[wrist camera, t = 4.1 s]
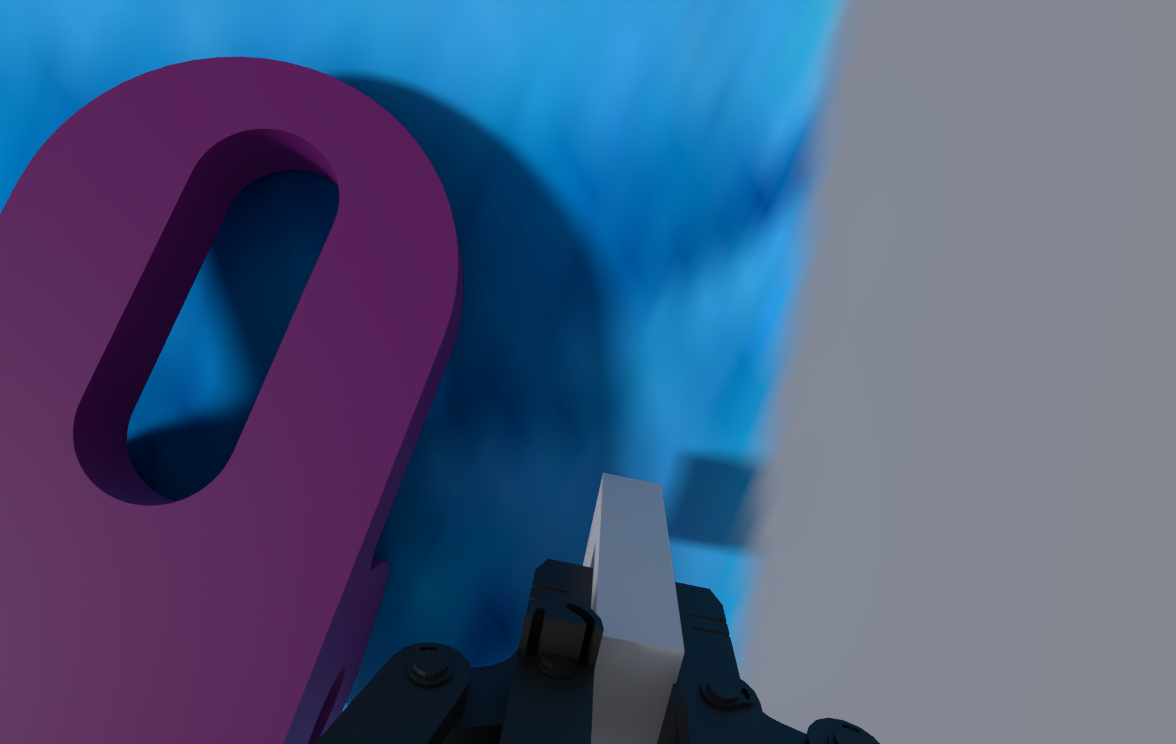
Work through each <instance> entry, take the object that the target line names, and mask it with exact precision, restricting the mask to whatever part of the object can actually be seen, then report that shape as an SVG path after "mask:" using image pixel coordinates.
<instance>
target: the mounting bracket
mask: <svg viewBox="0 0 1176 744" xmlns="http://www.w3.org/2000/svg"><path fill="white" fill-rule="evenodd" d="M281 170H304V171H309V172H313V173H316V174H319V175H321V176H323V177H325V178H327V179H329V180H330V181H332V182H333V183H335V184H336V185H337V186H338V187H339V207H338V212H337V216H336V218H335V221H334V224H333V226H332V228H331V231H330V233H329V235H328V237H327V240H326V242H325V244H324V246H323V249H322V251H321V253H320V256H319V258H318V260H317V262H316V265H315V267H314V269H313V272H312V274H311V276H310V278H309V281H308V283H307V285H306V287H305V290H304V292H303V294H302V297H301V299H300V301H299V303H298V306H297V308H296V310H295V313H294V315H293V317H292V319H291V322H290V324H289V326H288V328H287V331H286V333H285V335H284V338H283V340H282V342H281V344H280V347H279V349H278V351H277V353H276V356H275V358H274V360H273V363H272V365H271V367H270V369H269V372H268V374H267V376H266V379H265V381H264V383H263V385H262V388H261V390H260V392H259V394H258V397H257V399H256V401H255V404H254V406H253V408H252V410H251V413H250V415H249V417H248V420H247V422H246V424H245V426H244V429H243V431H242V433H241V435H240V438H239V440H238V442H237V445H236V447H235V449H234V451H233V453H232V455H231V457H230V459H229V461H228V463H227V464H226V466H225V467H224V469H223V470H222V471H221V472H220V474H219V475H218V476H217V477H216V478H215V479H214V480H213V481H212V482H211V483H209V484H208V485H207V486H206V487H205V488H203V489H202V490H200V491H199V492H197V493H195V494H193V495H192V496H190V497H187V498H185V499H183V500H180V501H174V500H171V499H168V498H165V497H163V496H161V495H159V494H158V493H156V492H154V491H153V490H152V489H151V488H150V487H149V485H148V484H147V483H146V482H145V481H143V480H142V479H141V478H140V477H139V476H138V475H137V473H136V471H135V470H134V468H133V466H132V463H131V461H130V458H129V454H128V449H127V430H128V424H129V421H130V417H131V415H132V412H133V410H134V408H135V406H136V404H137V402H138V399H139V397H140V395H141V393H142V391H143V389H144V387H145V385H146V383H147V380H148V378H149V376H150V374H151V372H152V370H153V368H154V366H155V363H156V361H157V359H158V357H159V355H160V353H161V351H162V349H163V346H164V344H165V342H166V340H167V338H168V336H169V334H170V332H171V330H172V327H173V325H174V323H175V321H176V319H177V317H178V315H179V313H180V310H181V308H182V306H183V304H184V302H185V300H186V298H187V296H188V293H189V291H190V289H191V287H192V285H193V283H194V281H195V279H196V277H197V274H198V272H199V270H200V268H201V266H202V264H203V262H204V260H205V257H206V255H207V253H208V251H209V249H210V247H211V245H212V243H213V240H214V238H215V236H216V234H217V232H218V230H219V228H220V226H221V224H222V221H223V219H224V217H225V215H226V213H227V211H228V209H229V207H230V205H231V203H232V201H233V200H234V199H235V197H236V196H237V195H238V193H239V192H240V191H241V190H242V189H243V188H244V187H246V186H247V185H248V184H249V183H251V182H252V181H254V180H256V179H257V178H259V177H261V176H263V175H266V174H269V173H272V172H276V171H281ZM463 298H464V278H463V267H462V260H461V253H460V248H459V243H458V238H457V233H456V228H455V224H454V220H453V216H452V212H451V208H450V204H449V201H448V198H447V196H446V193H445V190H444V188H443V185H442V183H441V181H440V179H439V177H438V175H437V173H436V171H435V169H434V167H433V165H432V163H431V162H430V160H429V159H428V157H427V156H426V154H425V153H424V151H423V150H422V148H421V147H420V145H419V144H418V143H417V142H416V140H415V139H414V138H413V137H412V136H411V134H410V133H409V132H408V131H407V130H406V128H405V127H404V126H403V125H402V124H401V123H399V122H398V121H397V120H396V119H395V118H394V117H393V116H392V115H391V114H390V113H389V112H388V111H387V110H385V109H384V108H383V107H381V106H380V105H379V104H378V103H376V102H375V101H374V100H373V99H371V98H370V97H368V96H366V95H365V94H363V93H362V92H360V91H358V90H357V89H355V88H354V87H352V86H350V85H348V84H346V83H344V82H342V81H340V80H338V79H336V78H334V77H332V76H329V75H326V74H324V73H321V72H318V71H316V70H313V69H310V68H307V67H303V66H299V65H295V64H292V63H288V62H282V61H276V60H270V59H264V58H250V57H216V58H208V59H200V60H192V61H187V62H183V63H178V64H173V65H169V66H166V67H162V68H159V69H156V70H153V71H150V72H147V73H144V74H142V75H139V76H137V77H135V78H132V79H130V80H128V81H126V82H123V83H121V84H119V85H118V86H116V87H114V88H112V89H110V90H109V91H107V92H105V93H103V94H101V95H100V96H98V97H97V98H95V99H94V100H92V101H91V102H90V103H88V104H87V105H85V106H84V107H82V108H81V109H80V110H78V111H77V112H76V113H75V114H74V115H73V116H71V117H70V118H69V119H68V120H67V121H65V122H64V123H63V124H62V125H61V126H60V127H59V128H58V129H57V130H56V131H55V132H54V133H53V134H52V135H51V136H50V138H49V139H48V140H47V141H46V142H45V143H44V144H43V145H42V147H41V148H40V149H39V151H38V152H37V153H36V155H35V156H34V157H33V158H32V160H31V161H30V162H29V164H28V166H27V167H26V169H25V171H24V172H23V174H22V176H21V177H20V179H19V180H18V182H17V184H16V186H15V188H14V190H13V191H12V193H11V195H10V197H9V199H8V201H7V203H6V204H5V206H4V208H3V210H2V212H1V214H0V744H314V743H315V742H316V741H317V740H318V739H319V738H320V737H321V735H322V734H323V733H324V732H325V731H326V730H327V729H328V728H329V727H330V725H331V724H332V723H333V722H334V721H335V720H336V719H337V718H338V717H339V715H340V714H341V713H342V711H343V708H344V706H345V703H346V701H347V698H348V696H349V693H350V691H351V688H352V686H353V683H354V680H355V678H356V675H357V673H358V670H359V667H360V665H361V662H362V659H363V656H364V653H365V650H366V647H367V644H368V641H369V638H370V635H371V632H372V628H373V625H374V622H375V619H376V616H377V613H378V610H379V607H380V604H381V601H382V598H383V594H384V591H385V588H386V583H387V578H388V570H389V566H388V562H386V561H383V560H380V559H377V558H374V557H373V555H374V551H375V548H376V546H377V543H378V540H379V538H380V535H381V533H382V530H383V528H384V525H385V522H386V520H387V517H388V515H389V512H390V510H391V507H392V504H393V502H394V499H395V497H396V494H397V492H398V489H399V486H400V484H401V481H402V479H403V476H404V474H405V471H406V469H407V466H408V463H409V461H410V458H411V456H412V453H413V451H414V448H415V445H416V443H417V440H418V438H419V435H420V433H421V430H422V428H423V425H424V422H425V420H426V417H427V415H428V412H429V410H430V407H431V404H432V402H433V399H434V397H435V394H436V392H437V389H438V386H439V384H440V381H441V379H442V376H443V374H444V371H445V369H446V366H447V363H448V361H449V358H450V356H451V353H452V350H453V347H454V344H455V341H456V338H457V335H458V331H459V326H460V321H461V316H462V308H463Z"/></svg>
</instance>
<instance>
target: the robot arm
mask: <svg viewBox="0 0 1176 744" xmlns="http://www.w3.org/2000/svg"><path fill="white" fill-rule="evenodd" d="M314 744H880V743H879V742H878V741H877V740H876V739H875V738H874V737H873V736H871V735H870V734H868V733H867V732H865V731H864V730H863V729H861V728H860V727H858V726H855V725H853V724H851V723H848V722H846V721H844V720H838V719H833V718H824V719H819V720H816V721H815V722H814V723H813V724H811V725H810V726H809V728H808V731H807V734H805V733H803V732H800V731H798V730H795V729H793V728H791V727H789V726H787V725H784V724H782V723H780V722H778V721H776V720H774V719H772V718H770V717H769V716H767V715H766V714H765V713H763V712H762V708H761V704H760V701H759V699H758V697H757V695H756V693H755V691H754V690H753V689H752V688H750V686H749V685H748V684H746V683H745V682H744V681H743V680H741V679H740V676H739V672H738V668H737V663H736V659H735V655H734V651H733V647H732V643H731V639H730V637H729V630H728V626H727V624H726V618H725V614H724V610H723V605H722V604H721V603H720V601H719V600H718V599H717V598H716V596H715V595H714V594H713V593H712V591H711V590H710V589H707V588H702V587H697V586H692V585H687V584H682V583H677V582H675V579H674V572H673V564H672V557H671V550H670V543H669V536H668V528H667V521H666V514H665V507H664V500H663V492H662V485H661V484H657V483H652V482H647V481H642V480H637V479H632V478H627V477H622V476H617V475H612V474H607V473H603V475H602V480H601V485H600V489H599V494H598V498H597V503H596V507H595V512H594V517H593V521H592V526H591V530H590V535H589V539H588V544H587V549H586V553H585V558H584V562H583V566H581V565H576V564H571V563H566V562H561V561H556V560H551V559H547V560H546V561H545V562H544V563H543V564H542V565H540V566H539V567H538V568H537V569H536V570H535V575H534V580H533V585H532V589H531V594H530V599H529V604H528V609H527V612H526V614H525V620H524V625H523V630H522V635H521V640H520V645H519V648H518V650H517V651H516V652H515V654H514V655H513V656H512V657H511V658H509V659H507V660H506V661H504V662H502V663H499V664H496V665H493V666H486V667H474V668H470V664H469V662H468V660H467V659H466V658H465V657H464V656H463V655H462V653H460V652H459V651H457V650H455V649H453V648H451V647H449V646H446V645H442V644H437V643H418V644H414V645H411V646H408V647H405V648H403V649H402V650H400V651H399V652H398V653H396V654H395V655H394V656H392V658H391V659H390V660H389V661H388V662H387V663H386V664H385V665H384V666H383V668H382V669H381V670H380V671H379V672H378V673H377V674H376V675H375V676H374V678H373V679H372V680H371V681H370V682H369V683H368V684H367V685H366V687H365V688H364V689H363V690H362V691H361V692H360V693H359V694H358V695H357V697H356V698H355V699H354V700H353V701H352V702H351V703H350V704H349V705H348V707H347V708H346V709H345V710H344V711H343V712H342V713H341V714H340V715H339V717H338V718H337V719H336V720H335V721H334V722H333V723H332V724H331V725H330V727H329V728H328V729H327V730H326V731H325V732H324V733H323V734H322V735H321V737H320V738H319V739H318V740H317V741H316V742H315V743H314Z"/></svg>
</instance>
